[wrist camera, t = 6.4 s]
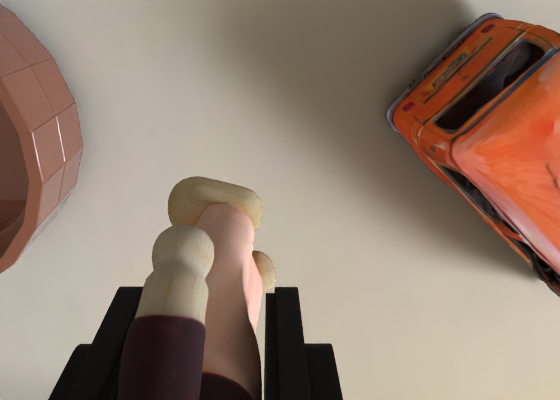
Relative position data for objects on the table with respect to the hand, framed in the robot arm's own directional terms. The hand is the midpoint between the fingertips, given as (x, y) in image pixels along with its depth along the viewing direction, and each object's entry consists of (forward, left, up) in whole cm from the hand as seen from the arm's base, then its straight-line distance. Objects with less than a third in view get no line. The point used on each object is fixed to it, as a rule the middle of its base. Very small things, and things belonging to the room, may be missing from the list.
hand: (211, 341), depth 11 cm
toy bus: (-16, +2, -15) cm, 22 cm away
